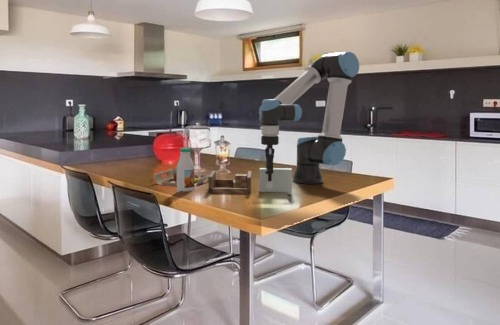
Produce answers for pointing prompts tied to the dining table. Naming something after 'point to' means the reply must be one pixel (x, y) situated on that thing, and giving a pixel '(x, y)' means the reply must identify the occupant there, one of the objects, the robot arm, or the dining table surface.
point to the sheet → (277, 180)
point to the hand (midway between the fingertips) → (269, 185)
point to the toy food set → (175, 178)
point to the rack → (227, 185)
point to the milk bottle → (185, 171)
